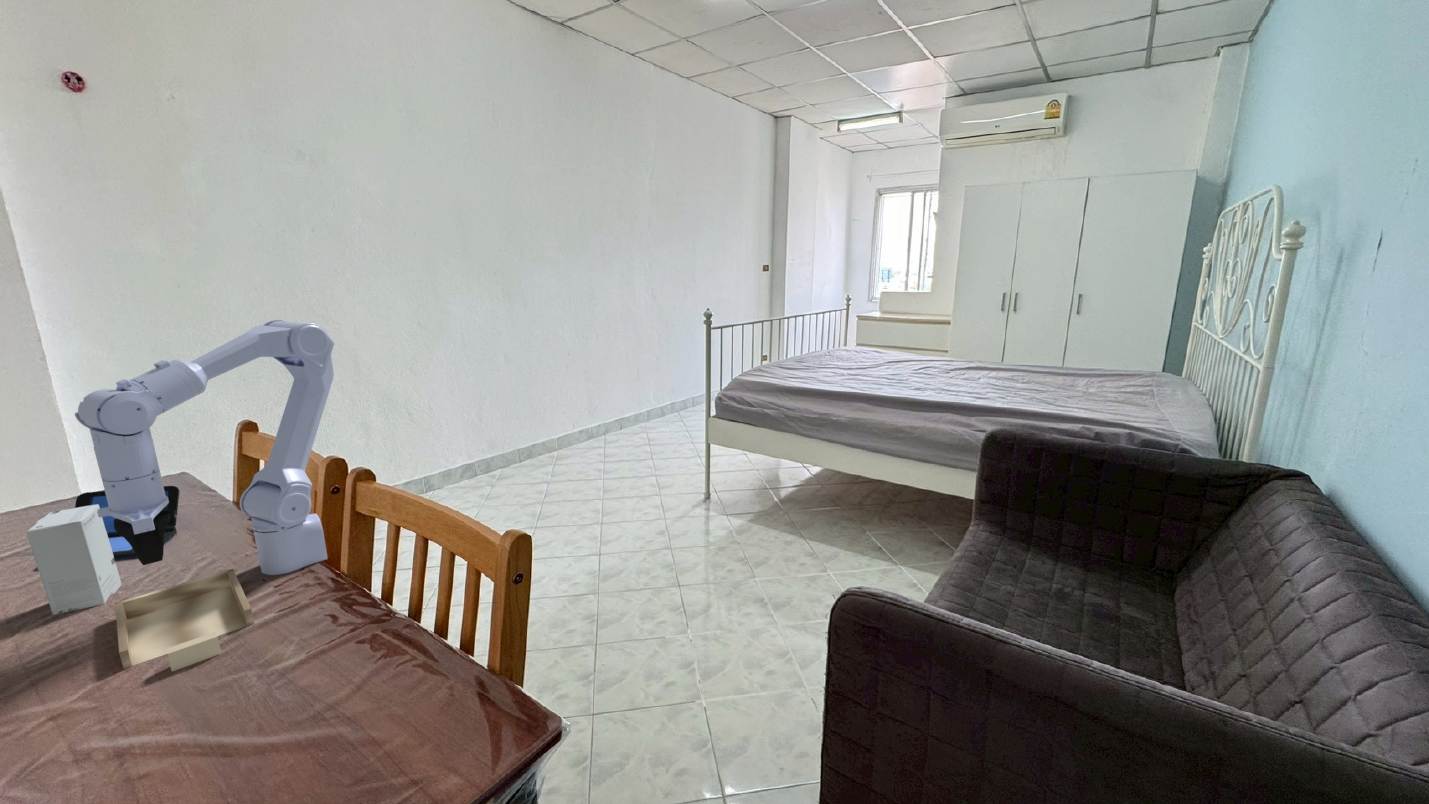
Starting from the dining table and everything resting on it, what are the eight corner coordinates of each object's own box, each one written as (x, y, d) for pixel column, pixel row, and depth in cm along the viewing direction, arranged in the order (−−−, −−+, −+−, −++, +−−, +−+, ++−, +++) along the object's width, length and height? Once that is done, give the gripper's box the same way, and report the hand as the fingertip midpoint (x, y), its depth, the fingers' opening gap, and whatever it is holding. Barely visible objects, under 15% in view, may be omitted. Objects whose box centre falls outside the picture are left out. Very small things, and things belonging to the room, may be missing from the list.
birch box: (236, 587, 94) (233, 568, 93) (255, 628, 84) (251, 608, 83) (120, 623, 85) (114, 602, 84) (125, 675, 74) (119, 652, 73)
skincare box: (107, 609, 88) (83, 521, 84) (50, 621, 85) (23, 531, 81) (123, 583, 95) (101, 501, 91) (70, 594, 91) (46, 509, 88)
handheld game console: (38, 571, 98) (23, 522, 96) (88, 536, 110) (76, 492, 108) (153, 557, 103) (142, 510, 101) (189, 525, 116) (180, 483, 113)
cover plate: (244, 648, 81) (239, 622, 80) (255, 676, 75) (249, 649, 74) (146, 684, 74) (139, 656, 73) (151, 718, 68) (143, 688, 67)
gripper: (89, 467, 81) (111, 553, 84) (89, 497, 71) (114, 592, 75) (157, 456, 86) (175, 537, 89) (166, 482, 76) (186, 572, 80)
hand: (152, 561), depth 82 cm, fingers closed
